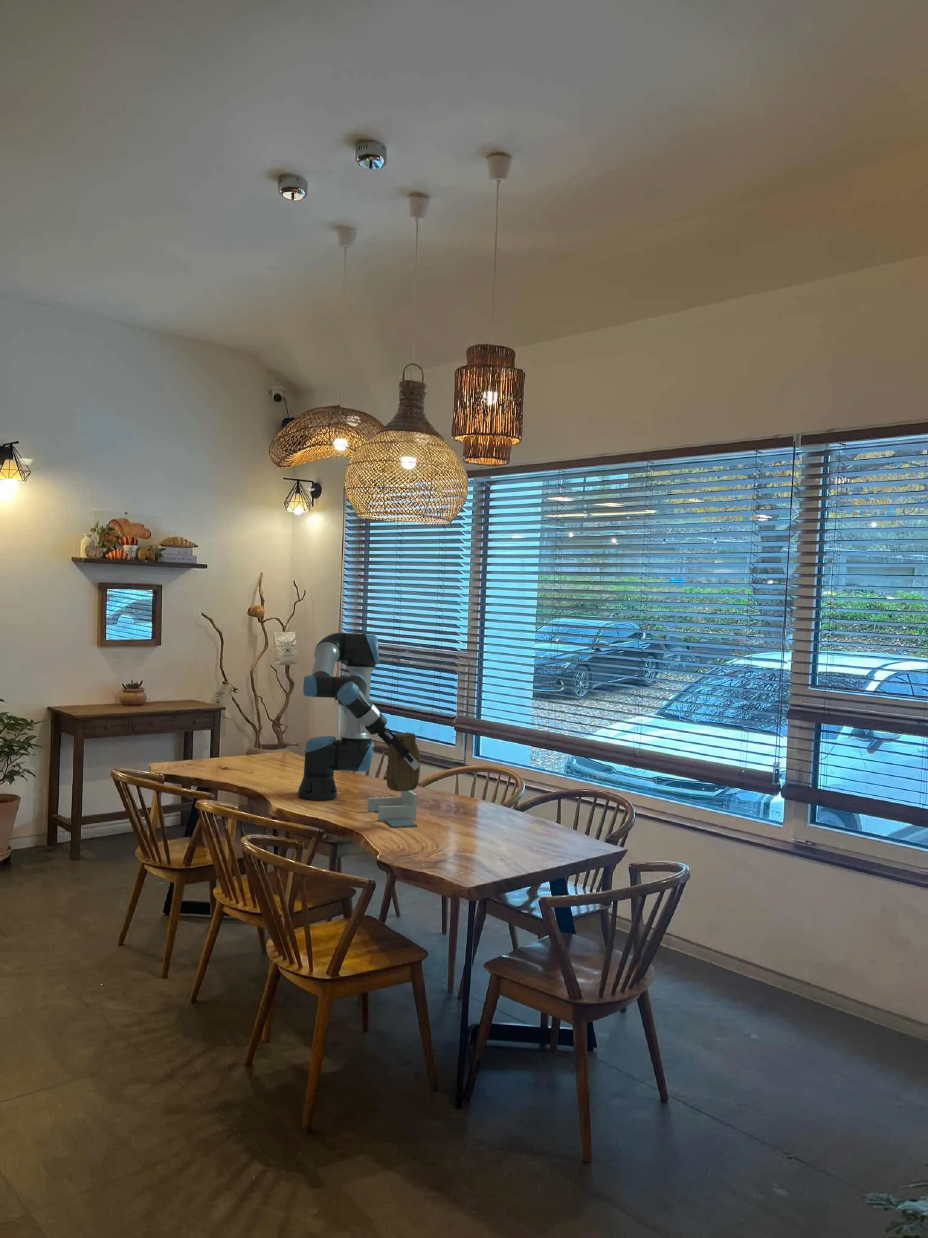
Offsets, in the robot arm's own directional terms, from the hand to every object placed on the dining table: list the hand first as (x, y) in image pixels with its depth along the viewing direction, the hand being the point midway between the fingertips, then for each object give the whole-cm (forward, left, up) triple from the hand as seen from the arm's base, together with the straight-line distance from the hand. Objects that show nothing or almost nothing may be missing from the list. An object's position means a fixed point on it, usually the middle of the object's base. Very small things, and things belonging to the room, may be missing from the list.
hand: (413, 765), depth 314 cm
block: (0, -3, -9) cm, 10 cm away
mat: (0, -3, -21) cm, 21 cm away
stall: (-12, -3, -21) cm, 25 cm away
